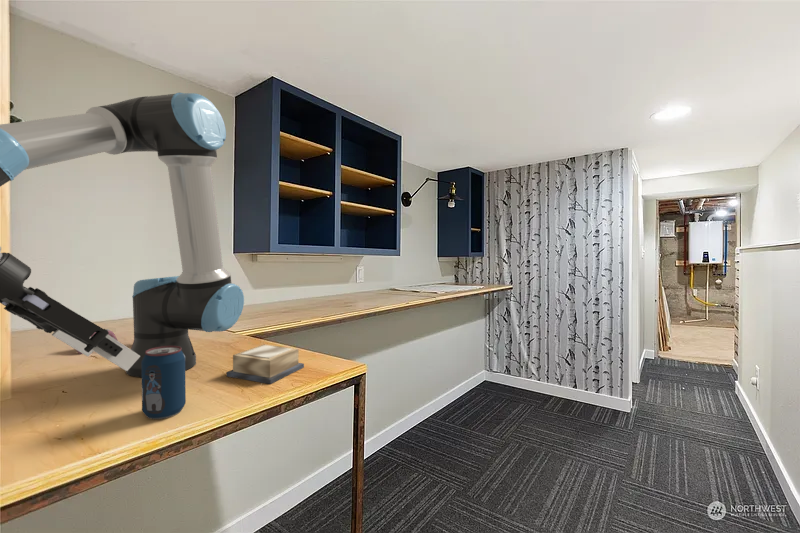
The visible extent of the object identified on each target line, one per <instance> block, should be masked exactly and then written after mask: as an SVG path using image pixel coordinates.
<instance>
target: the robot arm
mask: <svg viewBox="0 0 800 533" xmlns="http://www.w3.org/2000/svg"><path fill="white" fill-rule="evenodd" d="M226 138H227V129H226V125H225V121H224V119H223V117H222V114H221V112H220V111H219V109H218V108H216V106H215V104H214V103H213V102H212V101H211V100H210V99H208V97H206V96H204V95H202V94H199V93H195V92H191V93H189V92H185V93H184V92H176V93H171V94H170V93H169V94H161V95H151V96H148V95H147V96H139V97H134V98H130V99H125V100H122V101H119V102H115V103H110V104H107V105H106V104H104V105H100V106H92V107H90V108H88V109H87V110H86V112H85V113H80V114H71V115H64V116H57V117H50V118H49V117H48V118H43V119H33V120H27V121H26V120H25V121H17V122H11V123H1V124H0V188H1V187H2V186H4V185H5V184H7V183H9V182H12V181H13V180H14V179H15V178H16V177H17V176H18V175H19V174H21V173H22V172H23V171H26V170H29V169H35V168H39V167H44V166H48V165H53V164H56V163H57V164H58V163H61V162H65V161H70V160H74V159H79V158H83V157H87V156H92V155H96V154H101V153H106V154H108V155H112V156H113V155H120V154H124V153H132V152H133V153H134V152H157V157H158V160H160V161H161V162H162V163H164V165H165V166H166V167H167V172H168V177H169V178H168V179H169V184H170V192H171V199H172V205H173V213H174V218H175V226H176V233H177V234H176V235H177V242H178V247H179V249H178V250H179V254H180V261H181V268H182V269H181V270H182V272H181V274H179V275H177V276H176V275H175V276H168V277H167V276H165V277H158V278H157V277H155V278H145V279H139V280H137V281H136V282H134V285H133V294H132V312H133V318H132V319H133V343H132V345H131V348H129V347H128V346H126V344H123V343H122V342H120V341H119V340H118V339H117V340H118V341H117V340H116V339H114V338H113V337H111V336H110V335H108V334H109V332H108V331H107V330H106V328H103V327H101V326H99V325H97V324H96V323H94V322H93V321H91V320H89V319H88V318H85V317H84V316H82V315H81V314H78V313H77V312H76V311H74V310H72V309H70V308H69V307H66V306H65V305H64V304H62V303H61V302H59V301H58V300H56V299H54V298H53V297H51V296H49V295H48V294H47V292H45V291H44V290H42V289H39V288H37V287H35V288H34V287H32V286H29V287H26V286H24V283H25V281H26V280H28V279H29V277H30V276H31V274H32V269H31V267H30V266H29V265H28V264H26V263H24V262H23V261H22V260H20V259H19V258H17V257H16V256H14V255H12V254H11V253H10V252H1V251H2V246H0V304H1V305H3V306H4V307H3V309H4V310H6V311H7V312H9V313H11V314H12V315H15V316H17V317H19V318H21V319H22V320H25V321H27V322H28V323H30V324H32V325H33V326H35V327H36V329H38V330H43V331H44V332H45V333H47V334H51V336H52V337H54V338H56V340H57V339H58V340H60V341H61V342H62V343H64V344H66V345H68V346H69V347H70V348H73V349H75V351H76V352H77V351H79V352H81V353H82V354H83V356H86V357H89V356H90V355H92V353H93V352H94V353H96V354H98V355H99V356H101V357H102V358H104V359H106V360H107V361H109V362H111V363H112V364H114V365H116V366H117V367H118V368H121V369H122V370H124V371H125V373H126V375H128V376H131V377H138V378H142V366H141V362H142V360H143V358H144V356H145V352H146V351H147V350H149V349H151V348H156V347H161V346H179V347H181V348H182V349H181V351H182V352H183V354H184V355H185V371H187V370H189V369H191V368H194V366H196V364H197V355H196V352H195V350H194V347H193V343H192V342H191V339H190V336H189V330H190V331H191V330H192V331H200V332H201V331H202V332H206V333H213V332H217V333H218V332H219V333H220V332H225V331H227V330H229V329H230V328H232V327H233V326H234V325H235V324H237V322H238V320H239V319H240V316H241V315H242V313H243V310H244V305H245V296H244V292H243V290H242V288H241V287H240V286H239V285H237V284H235V283H232V275H231V272H230V271H228V270H227V269H225V268H224V265H223V257H222V251H221V250H222V248H221V240H220V233H219V225H218V224H219V223H218V217H217V215H218V214H217V207H216V199H215V190H214V183H213V182H214V181H213V180H214V179H213V173H212V166H213V164H214V163H216V161H217V160H218V154H217V150H219V149H221V148H222V147H223V146H224V144H225V143H224V142H225V141H226ZM95 332H96V333H95ZM94 333H95V334H94ZM93 334H94V335H93ZM92 335H93V336H92ZM91 336H92V337H91ZM82 354H81V355H82Z"/></svg>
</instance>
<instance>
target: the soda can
mask: <svg viewBox="0 0 800 533" xmlns="http://www.w3.org/2000/svg"><path fill="white" fill-rule="evenodd" d="M181 349H182V348H181V347H179V346H161V347H156V348H151V349H149V350H147V351H146V352H145V356H144V358H143V360H142V362H141V366H142V377H141V411H142V413H143V414H144V415H145V417H147V418H148V419H149V420H164V419H168V418H172V417H174V416H176V415H178V414H180V412H182V410H183V408H184V407H185V405H186V401H187V400H186V399H187V398H186V393H187V392H186V370H185V355H184V354H183V352H182V351H181Z"/></svg>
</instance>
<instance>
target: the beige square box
mask: <svg viewBox="0 0 800 533" xmlns="http://www.w3.org/2000/svg"><path fill="white" fill-rule="evenodd" d="M303 368H305V364H304V363H301V362H299V348H294V347H293V348H292V347H288V346H287V347H285V346H279V345H278V346H277V345H272V344H266V343H265V344H261V345H258V346H255V347H253V348H250V349H246V350H244V351H240V352H238V353H235V354H233V355H232V369H231V370H229V371H226V377H228V378H229V377H230V378H234V379H235V378H236V379H240V380H245V381H251V382H257V383H262V384H267V385H268V384H269V385H273V384H274V383H276V382H278V381H280V380H282V379H283V378H285V377H288V376H289V375H292V374H293V373H295V372H297V371H300V370H301V369H303Z"/></svg>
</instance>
